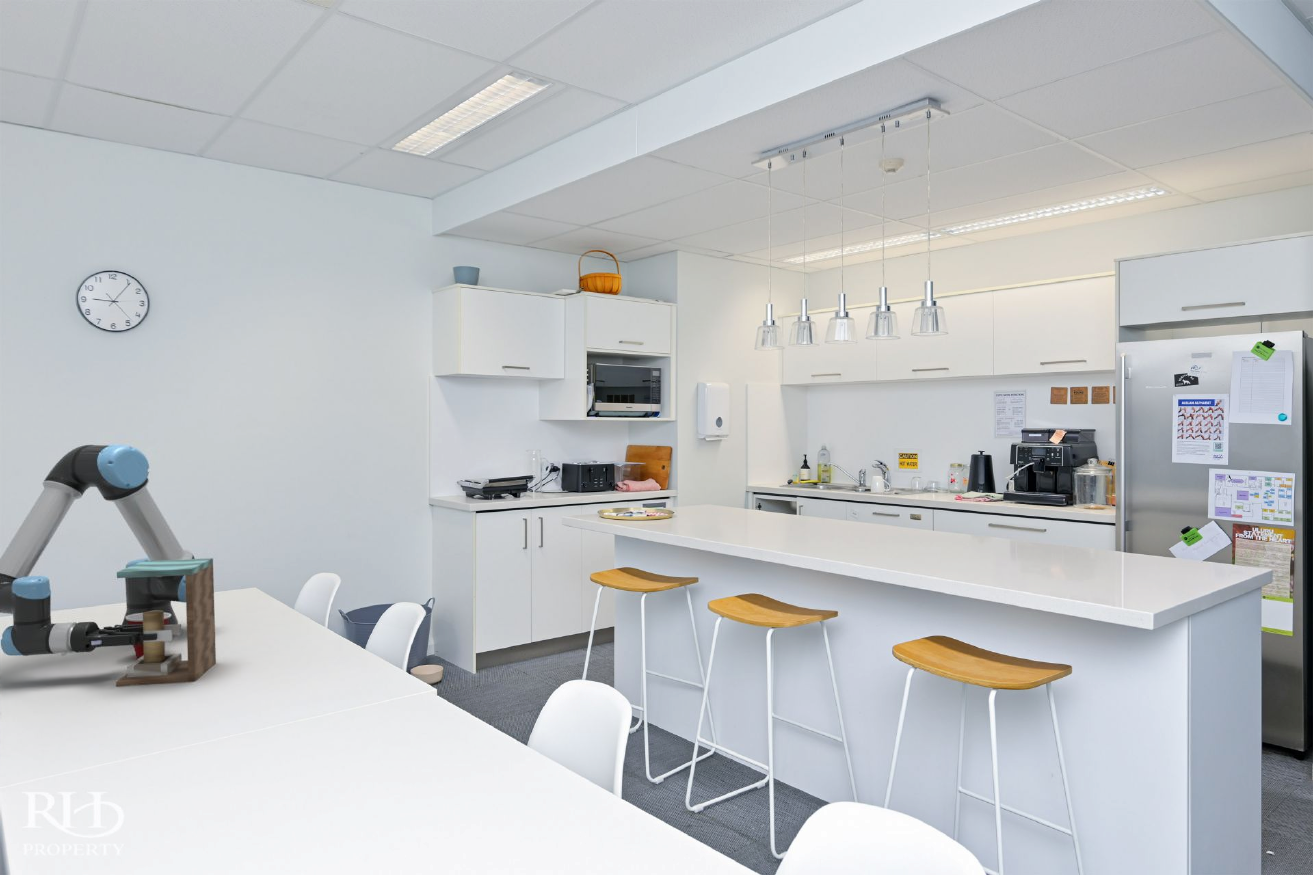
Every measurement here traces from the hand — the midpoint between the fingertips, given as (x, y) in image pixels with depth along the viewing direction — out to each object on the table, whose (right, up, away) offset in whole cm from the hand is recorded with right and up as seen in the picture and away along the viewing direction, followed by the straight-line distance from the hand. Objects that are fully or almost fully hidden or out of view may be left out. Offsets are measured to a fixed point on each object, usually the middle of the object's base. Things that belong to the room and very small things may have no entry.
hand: (176, 632), depth 209 cm
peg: (-5, -8, -1) cm, 9 cm away
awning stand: (-2, -11, 0) cm, 11 cm away
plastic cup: (-16, -11, +15) cm, 24 cm away
